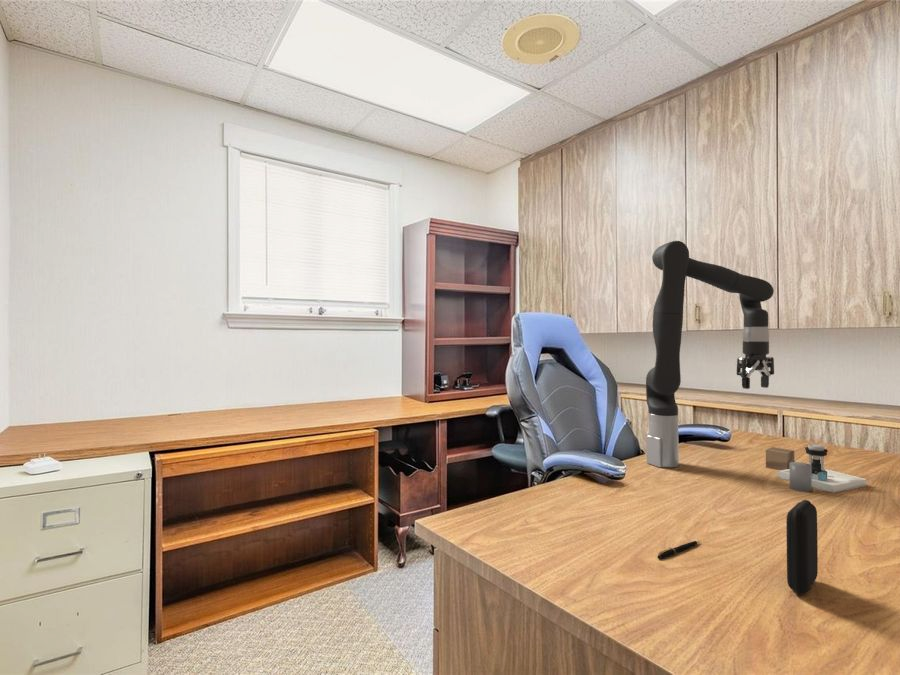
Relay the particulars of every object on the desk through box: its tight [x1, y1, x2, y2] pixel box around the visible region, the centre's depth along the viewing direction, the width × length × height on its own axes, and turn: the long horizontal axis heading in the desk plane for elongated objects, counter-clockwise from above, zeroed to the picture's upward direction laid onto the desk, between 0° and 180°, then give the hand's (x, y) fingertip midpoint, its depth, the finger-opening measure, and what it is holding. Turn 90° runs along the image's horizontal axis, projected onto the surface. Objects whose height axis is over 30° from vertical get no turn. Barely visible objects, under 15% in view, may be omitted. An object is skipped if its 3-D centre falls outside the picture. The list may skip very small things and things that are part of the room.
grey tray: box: [777, 468, 868, 494], centre depth 137 cm, size 15×15×2 cm
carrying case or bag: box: [786, 499, 819, 596], centre depth 82 cm, size 11×3×15 cm, turn 131°
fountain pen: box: [656, 540, 701, 560], centre depth 96 cm, size 14×1×2 cm, turn 120°
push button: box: [804, 443, 834, 481], centre depth 137 cm, size 7×5×10 cm
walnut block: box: [765, 446, 796, 471], centre depth 152 cm, size 6×6×6 cm
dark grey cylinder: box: [789, 461, 813, 493], centre depth 131 cm, size 5×5×7 cm
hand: (755, 388), depth 157 cm, fingers open, 8 cm apart
